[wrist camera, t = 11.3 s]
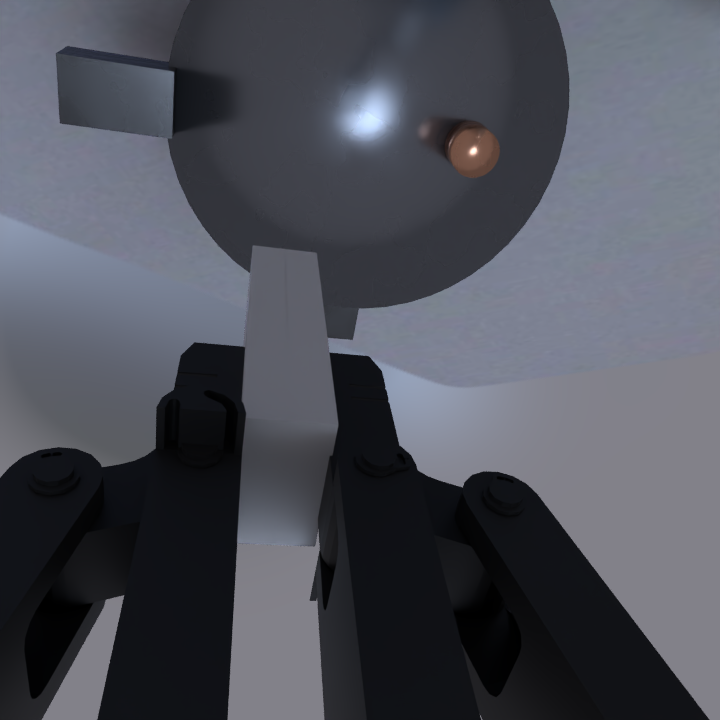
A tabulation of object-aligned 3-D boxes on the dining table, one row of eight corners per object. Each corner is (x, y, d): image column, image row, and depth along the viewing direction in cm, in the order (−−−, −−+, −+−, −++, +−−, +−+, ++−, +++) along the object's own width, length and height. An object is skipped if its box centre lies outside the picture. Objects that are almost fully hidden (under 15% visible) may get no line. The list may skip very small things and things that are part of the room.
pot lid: (58, -184, 28) (38, -193, 25) (618, -64, 32) (645, -63, 30) (79, 271, 38) (66, 294, 36) (500, 314, 42) (513, 337, 40)
